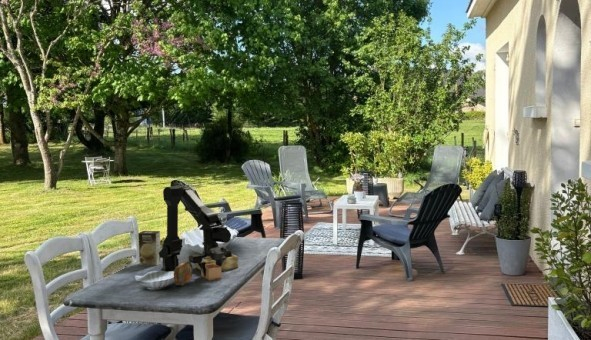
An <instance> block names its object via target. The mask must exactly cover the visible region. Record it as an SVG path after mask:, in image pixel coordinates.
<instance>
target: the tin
mask: <svg viewBox="0 0 591 340" xmlns="http://www.w3.org/2000/svg"><path fill="white" fill-rule="evenodd" d="M192 264H193V263H192V262H189V260H188V261H183V262H181V263H180V264H179V265H178V266H177V267H176V268H175V270H173V279H174V283H175V285H176V286H185V285H186V284H187V283H188V282H190V281H191V280H192V278H193V273H194V272H193V270H194V269H193V265H192Z"/></svg>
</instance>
